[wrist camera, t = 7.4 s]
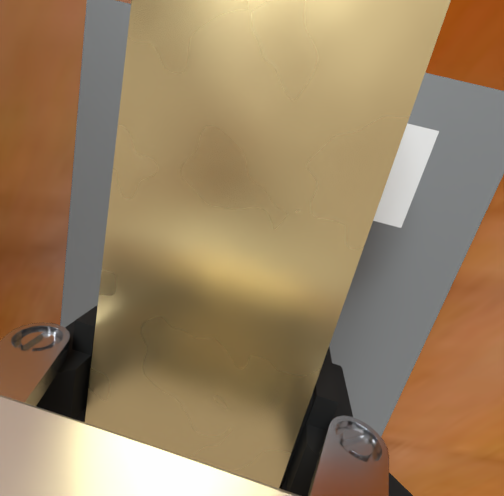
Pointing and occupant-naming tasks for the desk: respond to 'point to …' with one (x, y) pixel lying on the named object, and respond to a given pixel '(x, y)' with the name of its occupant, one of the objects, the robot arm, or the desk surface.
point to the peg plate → (381, 232)
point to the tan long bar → (244, 212)
